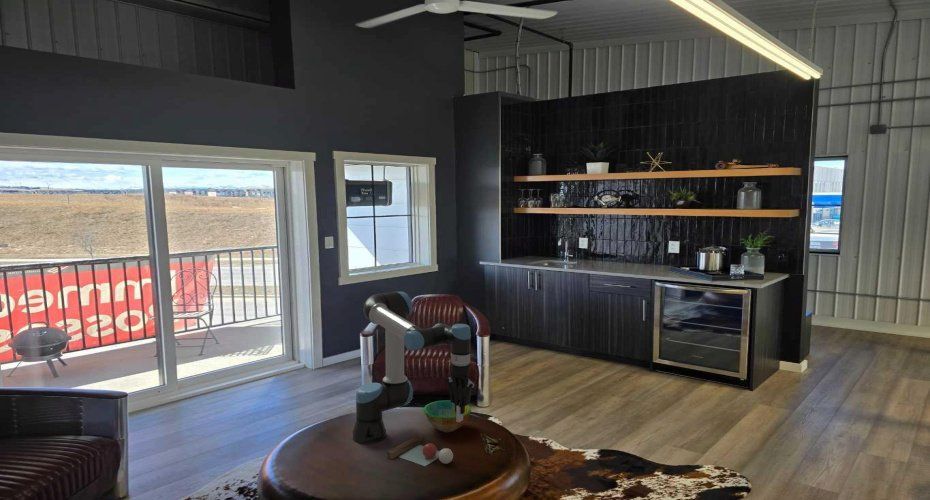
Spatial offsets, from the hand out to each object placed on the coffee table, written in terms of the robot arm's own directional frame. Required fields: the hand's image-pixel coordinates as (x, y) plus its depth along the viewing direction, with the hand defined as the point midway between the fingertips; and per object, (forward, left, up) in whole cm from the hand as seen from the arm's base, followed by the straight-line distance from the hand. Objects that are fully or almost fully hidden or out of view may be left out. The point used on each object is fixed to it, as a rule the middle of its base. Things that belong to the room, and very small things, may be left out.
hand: (459, 420), depth 226 cm
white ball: (-7, 0, -17) cm, 18 cm away
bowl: (-26, +28, -20) cm, 43 cm away
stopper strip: (-28, 0, -20) cm, 34 cm away
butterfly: (+1, +23, -20) cm, 30 cm away
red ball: (-15, 0, -17) cm, 22 cm away
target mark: (-19, 0, -20) cm, 27 cm away
